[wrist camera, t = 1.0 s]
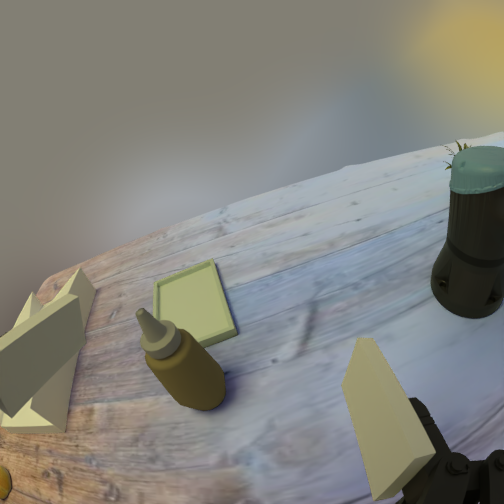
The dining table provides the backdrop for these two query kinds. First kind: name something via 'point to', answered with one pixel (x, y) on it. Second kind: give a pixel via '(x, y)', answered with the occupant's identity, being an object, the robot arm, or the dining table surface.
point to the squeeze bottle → (181, 363)
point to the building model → (60, 384)
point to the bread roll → (4, 483)
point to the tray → (195, 303)
